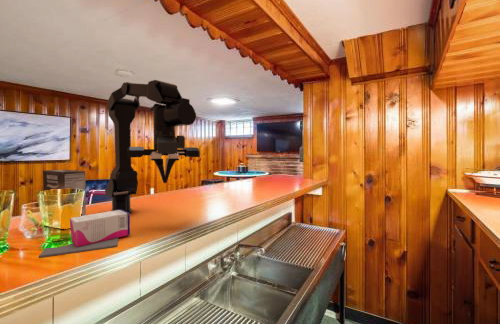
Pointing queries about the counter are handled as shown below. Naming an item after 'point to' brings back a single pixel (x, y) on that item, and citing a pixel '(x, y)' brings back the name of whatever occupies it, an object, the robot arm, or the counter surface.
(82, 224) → the supplement box
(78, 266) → the counter surface
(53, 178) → the coffee box
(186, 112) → the robot arm
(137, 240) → the counter surface
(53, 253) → the bar mat
